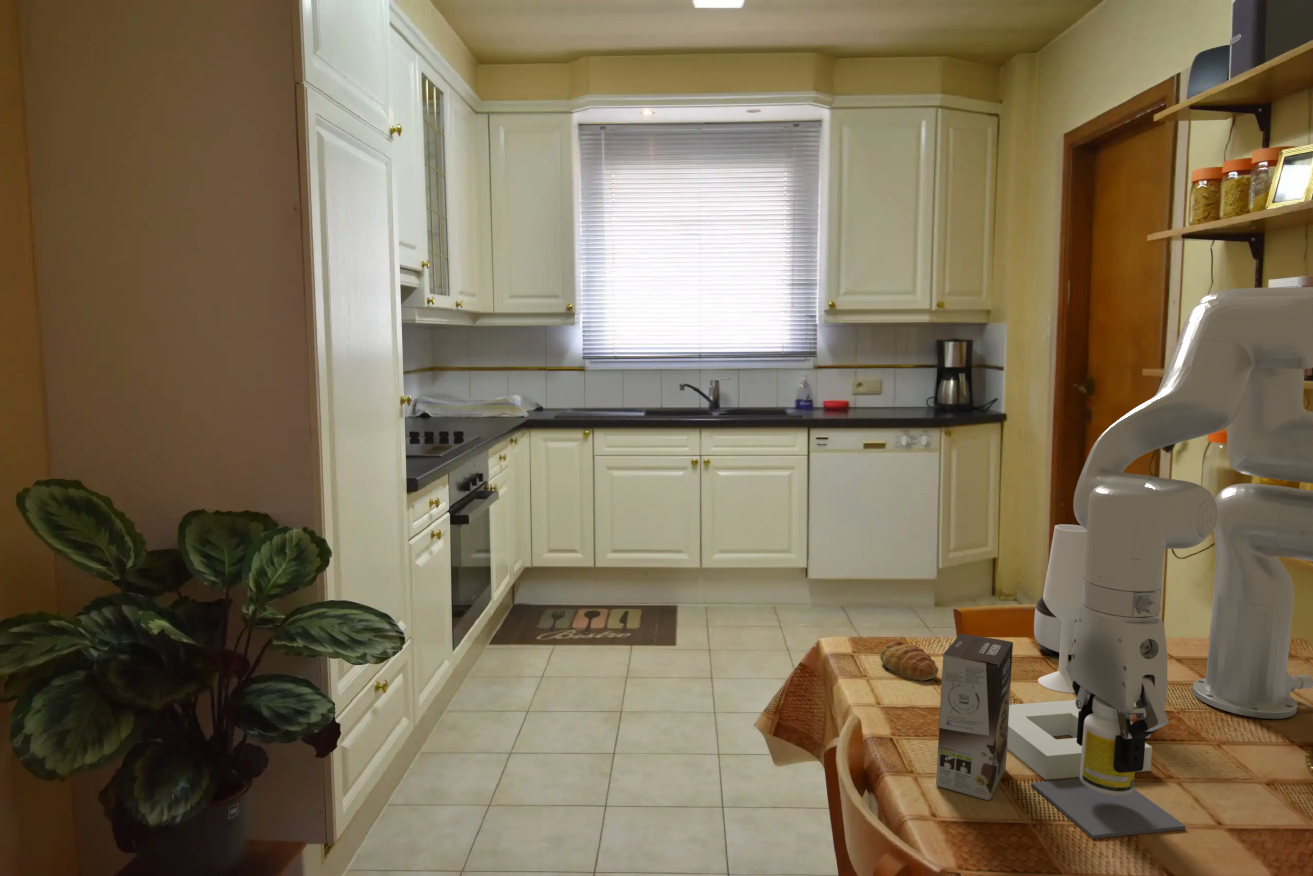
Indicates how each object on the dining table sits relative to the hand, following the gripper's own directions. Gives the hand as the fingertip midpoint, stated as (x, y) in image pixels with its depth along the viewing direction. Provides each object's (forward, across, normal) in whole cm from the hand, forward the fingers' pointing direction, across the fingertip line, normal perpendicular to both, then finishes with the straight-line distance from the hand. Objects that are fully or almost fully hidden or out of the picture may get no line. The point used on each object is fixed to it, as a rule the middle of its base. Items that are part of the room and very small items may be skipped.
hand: (1108, 755), depth 99 cm
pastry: (+6, +42, +3) cm, 42 cm away
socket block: (+6, +14, -4) cm, 15 cm away
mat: (+6, 0, 0) cm, 6 cm away
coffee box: (+6, +8, +11) cm, 15 cm away
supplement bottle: (+4, 0, 0) cm, 4 cm away
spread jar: (+6, +46, -27) cm, 54 cm away
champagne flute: (+6, +32, -17) cm, 37 cm away
